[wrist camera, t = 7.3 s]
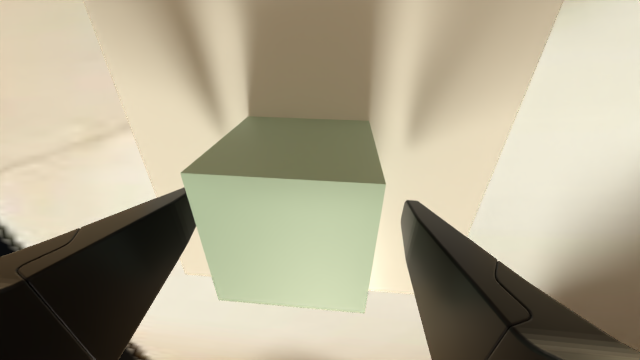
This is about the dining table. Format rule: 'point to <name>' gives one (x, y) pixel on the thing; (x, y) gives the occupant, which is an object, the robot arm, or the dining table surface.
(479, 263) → the robot arm
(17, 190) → the dining table surface
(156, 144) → the cream square slab
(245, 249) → the green cube
